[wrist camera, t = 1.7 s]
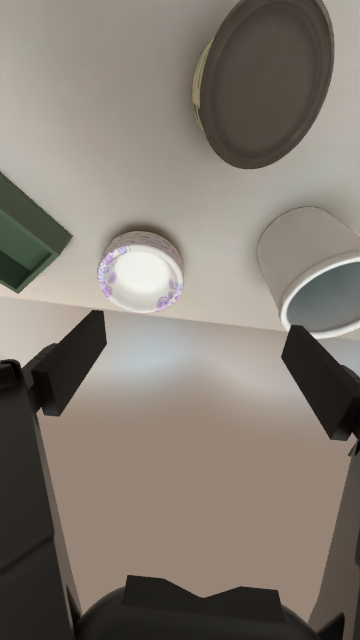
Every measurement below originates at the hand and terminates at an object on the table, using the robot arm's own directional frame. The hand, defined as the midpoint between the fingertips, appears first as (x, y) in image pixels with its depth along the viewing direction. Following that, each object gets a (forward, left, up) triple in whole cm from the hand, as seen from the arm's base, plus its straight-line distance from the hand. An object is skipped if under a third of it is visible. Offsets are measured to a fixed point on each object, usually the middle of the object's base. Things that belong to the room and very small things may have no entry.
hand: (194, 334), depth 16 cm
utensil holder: (+19, +12, -30) cm, 37 cm away
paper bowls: (+5, -13, -30) cm, 33 cm away
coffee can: (-6, +12, -30) cm, 32 cm away
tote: (-14, -27, -29) cm, 42 cm away
